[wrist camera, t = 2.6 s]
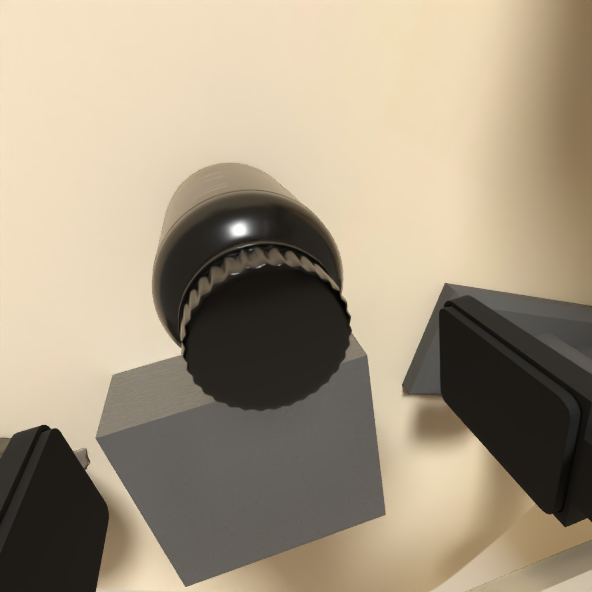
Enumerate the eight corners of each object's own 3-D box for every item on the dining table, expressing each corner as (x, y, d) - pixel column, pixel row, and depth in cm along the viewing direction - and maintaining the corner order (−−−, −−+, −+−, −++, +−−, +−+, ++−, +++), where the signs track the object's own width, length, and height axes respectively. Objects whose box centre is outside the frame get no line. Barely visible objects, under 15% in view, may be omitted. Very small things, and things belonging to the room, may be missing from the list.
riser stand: (336, 310, 25) (366, 355, 21) (359, 462, 32) (386, 519, 28) (112, 375, 24) (95, 438, 19) (188, 521, 30) (188, 591, 26)
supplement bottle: (318, 222, 22) (431, 330, 12) (235, 305, 23) (273, 472, 13) (226, 127, 19) (271, 164, 9) (135, 229, 20) (78, 370, 10)
